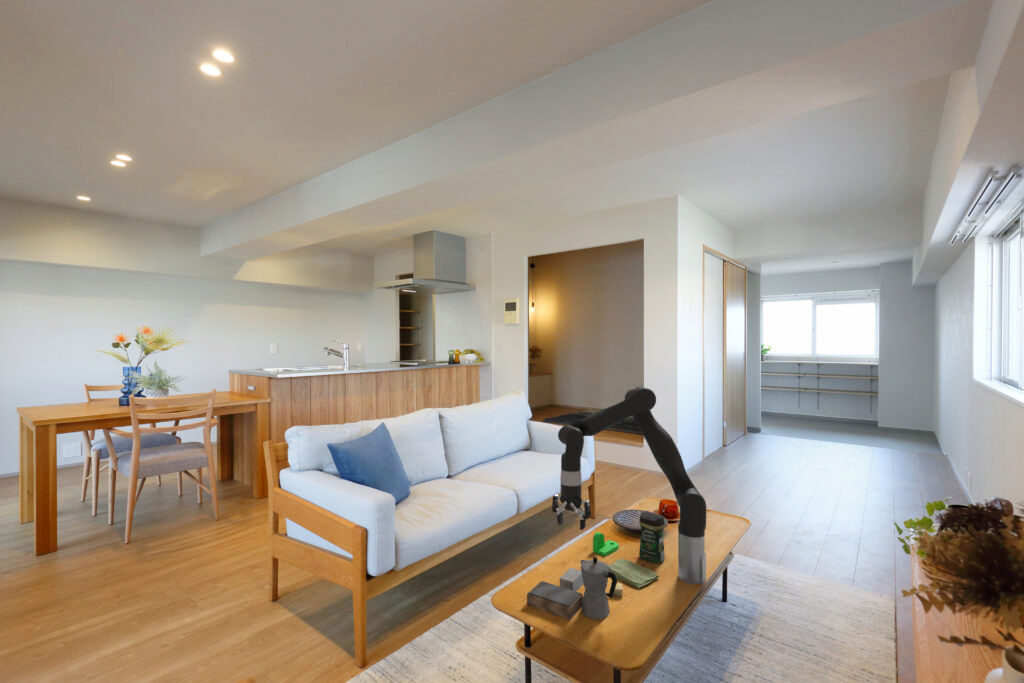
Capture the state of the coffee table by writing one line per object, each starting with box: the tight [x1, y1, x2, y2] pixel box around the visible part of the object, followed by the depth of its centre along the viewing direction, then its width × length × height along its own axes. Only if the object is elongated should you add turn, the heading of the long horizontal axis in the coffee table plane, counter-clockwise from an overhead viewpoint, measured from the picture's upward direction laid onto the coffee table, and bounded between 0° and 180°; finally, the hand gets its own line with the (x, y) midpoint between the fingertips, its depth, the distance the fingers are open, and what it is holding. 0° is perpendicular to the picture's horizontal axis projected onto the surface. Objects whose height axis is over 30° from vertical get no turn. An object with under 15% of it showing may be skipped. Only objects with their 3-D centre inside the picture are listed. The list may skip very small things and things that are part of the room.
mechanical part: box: [592, 531, 619, 557], centre depth 199 cm, size 12×6×8 cm, turn 133°
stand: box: [526, 580, 584, 621], centre depth 158 cm, size 16×10×4 cm, turn 57°
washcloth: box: [607, 558, 660, 590], centre depth 178 cm, size 13×18×3 cm
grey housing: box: [559, 567, 584, 592], centre depth 169 cm, size 5×13×5 cm, turn 147°
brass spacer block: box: [613, 582, 624, 598], centre depth 165 cm, size 4×4×3 cm
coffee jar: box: [638, 510, 666, 564], centre depth 191 cm, size 10×8×19 cm
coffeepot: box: [579, 556, 618, 620], centre depth 153 cm, size 15×9×18 cm, turn 39°
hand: (571, 526), depth 169 cm, fingers open, 8 cm apart
